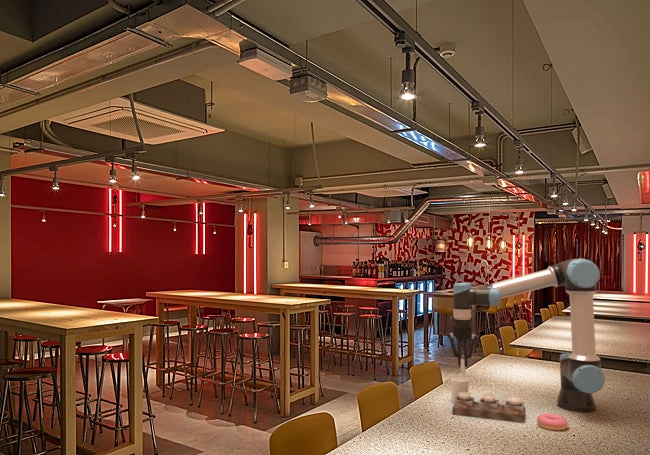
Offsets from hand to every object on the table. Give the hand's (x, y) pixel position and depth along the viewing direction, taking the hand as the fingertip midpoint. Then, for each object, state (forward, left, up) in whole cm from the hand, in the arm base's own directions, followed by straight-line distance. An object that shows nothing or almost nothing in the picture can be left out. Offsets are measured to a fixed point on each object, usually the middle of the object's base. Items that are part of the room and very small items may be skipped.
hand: (463, 373), depth 209 cm
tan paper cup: (+4, -13, -16) cm, 21 cm away
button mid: (-10, 0, -10) cm, 14 cm away
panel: (-10, +1, -16) cm, 19 cm away
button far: (0, 0, -10) cm, 10 cm away
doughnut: (-34, +7, -16) cm, 39 cm away
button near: (-20, 0, -10) cm, 23 cm away
